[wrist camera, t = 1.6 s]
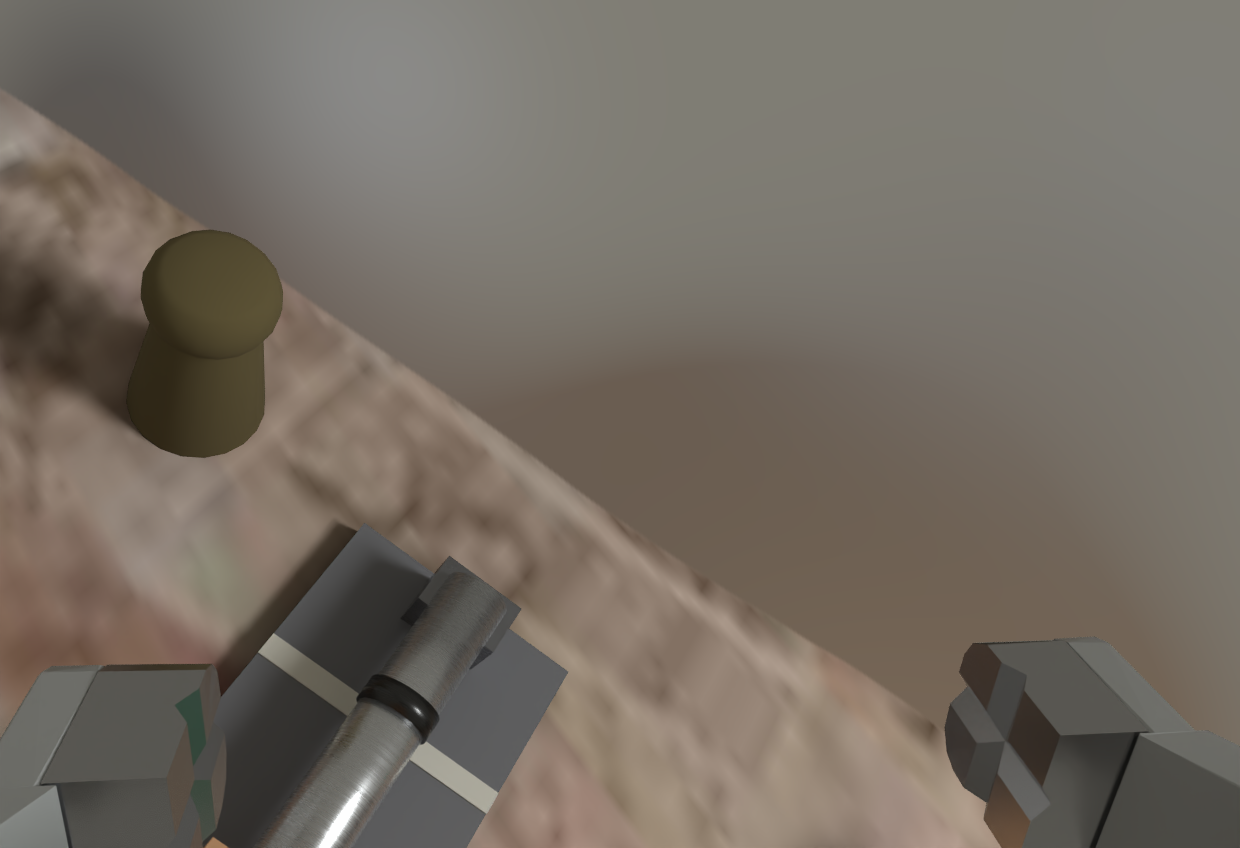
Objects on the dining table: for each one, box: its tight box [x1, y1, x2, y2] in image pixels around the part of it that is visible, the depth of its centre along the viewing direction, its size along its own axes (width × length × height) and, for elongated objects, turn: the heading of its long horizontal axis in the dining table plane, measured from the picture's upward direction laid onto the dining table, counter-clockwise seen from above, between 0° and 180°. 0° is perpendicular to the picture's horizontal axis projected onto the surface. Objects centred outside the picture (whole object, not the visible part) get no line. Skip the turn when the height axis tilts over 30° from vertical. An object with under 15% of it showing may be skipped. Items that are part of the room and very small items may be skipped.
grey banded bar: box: [253, 556, 521, 848], centre depth 37 cm, size 23×4×5 cm, turn 151°
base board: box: [202, 523, 568, 848], centre depth 39 cm, size 24×12×1 cm, turn 151°
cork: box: [126, 230, 283, 458], centre depth 41 cm, size 6×6×11 cm
